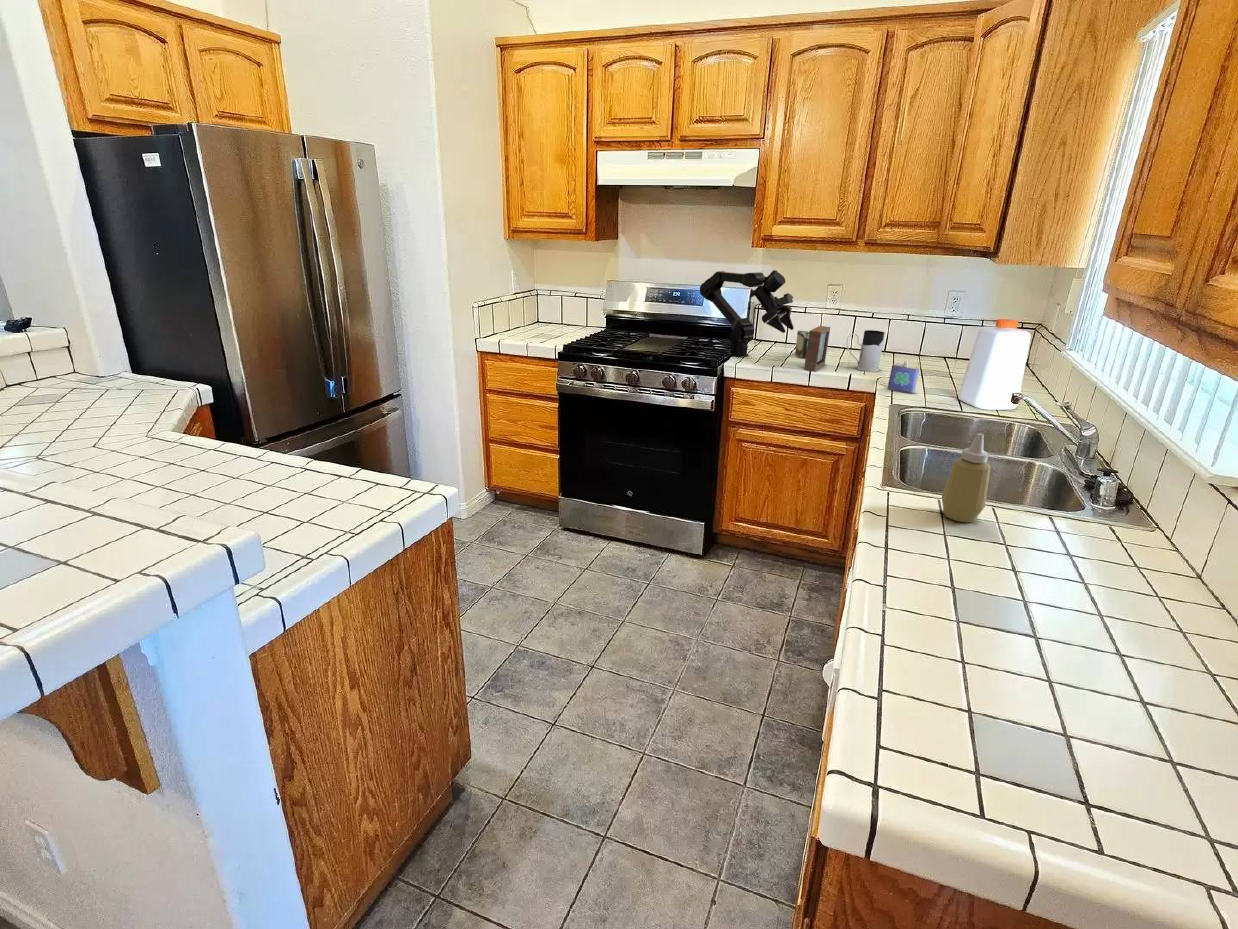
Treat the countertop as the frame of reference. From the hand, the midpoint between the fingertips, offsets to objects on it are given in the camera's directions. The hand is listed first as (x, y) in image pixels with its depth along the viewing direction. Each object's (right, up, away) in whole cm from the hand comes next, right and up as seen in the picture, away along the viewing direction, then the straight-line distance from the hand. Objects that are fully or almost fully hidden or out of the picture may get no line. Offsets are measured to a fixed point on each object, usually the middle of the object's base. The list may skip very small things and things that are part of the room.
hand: (788, 330), depth 260 cm
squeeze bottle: (+2, -65, -126) cm, 142 cm away
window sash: (+7, -12, 0) cm, 14 cm away
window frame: (+11, -14, +2) cm, 18 cm away
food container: (+13, -7, +22) cm, 26 cm away
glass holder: (+30, -15, +3) cm, 33 cm away
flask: (+32, -28, -29) cm, 51 cm away
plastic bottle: (+55, -34, -42) cm, 77 cm away
